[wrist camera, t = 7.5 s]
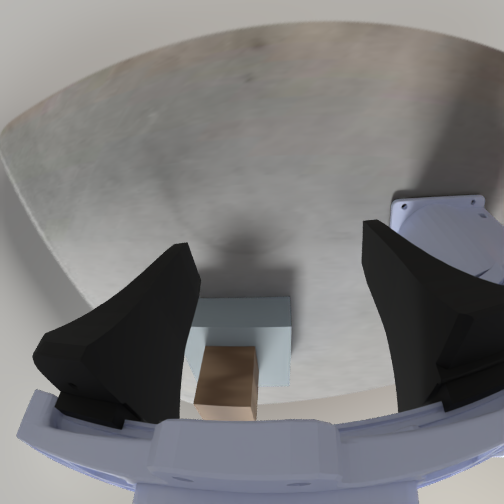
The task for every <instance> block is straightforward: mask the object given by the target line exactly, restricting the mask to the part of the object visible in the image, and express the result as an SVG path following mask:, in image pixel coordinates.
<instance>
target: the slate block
mask: <svg viewBox="0 0 504 504" xmlns="http://www.w3.org/2000/svg"><path fill="white" fill-rule="evenodd" d="M205 346H255V349H256V356H257V363H258V369H259V382H258V386H289V385H290V360H291V308H290V297H258V298H199V299H198V303H197V307H196V311H195V315H194V318H193V322H192V325H191V329H190V333H189V336H188V340H187V344H186V349H185V357H186V359H187V361H188V363H189V366H190V368H191V370H192V372H193V375H194V377H195V379H196V381H197V383H198V378H199V373H200V368H201V363H202V359H203V354H204V349H205Z"/></svg>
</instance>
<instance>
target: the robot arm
mask: <svg viewBox="0 0 504 504" xmlns="http://www.w3.org/2000/svg"><path fill="white" fill-rule="evenodd" d="M472 200H473V202H472ZM471 202H472V203H471ZM403 204H406V205H405V206H404V207H403V208H401V207H402V205H403ZM484 204H485V198H484V197H483V196H482V195H462V196H441V197H424V198H408V199H397V200H394V201H393V202H392V205H391V217H390V227H388V226H387V225H385V224H384V223H382V222H381V221H379V220H367V221H363V241H362V266H363V270H364V274H365V277H366V281H367V284H368V287H369V289H370V292H371V294H372V297H373V299H374V302H375V304H376V307H377V309H378V312H379V315H380V317H381V320H382V323H383V325H384V329H385V332H386V336H387V340H388V344H389V349H390V354H391V359H392V365H393V370H394V377H395V384H396V392H397V402H398V413H396V414H391V415H387V416H382V417H377V418H372V419H366V420H361V421H355V422H348V423H342V424H334V425H333V424H331V423H328V422H323V421H319V420H315V419H303V420H302V419H287V420H266V421H216V420H196V419H180V416H179V413H180V412H179V410H180V390H181V379H182V369H183V362H184V354H185V349H186V344H187V340H188V336H189V333H190V329H191V325H192V322H193V318H194V315H195V311H196V307H197V303H198V299H199V292H200V284H201V279H200V276H199V274H198V271H197V268H196V265H195V262H194V260H193V257H192V254H191V251H190V248H189V245H188V242H187V243H179V244H174V245H173V246H171V247H170V248H169V249H168V250H166V251H165V252H164V253H163V254H162V255H161V256H160V257H159V258H157V259H156V260H155V261H154V262H153V263H152V264H151V265H150V266H149V267H148V268H147V269H146V270H145V271H143V272H142V273H141V274H140V275H139V276H138V277H137V278H135V279H134V280H133V281H132V282H131V283H130V284H129V285H127V286H126V287H125V288H124V289H122V290H121V291H120V292H119V293H117V294H116V295H114V296H113V297H112V298H110V299H109V300H108V301H106V302H105V303H103V304H101V305H100V306H98V307H97V308H95V309H94V310H92V311H91V312H89V313H87V314H85V315H84V316H82V317H80V318H78V319H76V320H74V321H72V322H70V323H68V324H66V325H64V326H62V327H59V328H57V329H55V330H52V331H50V332H48V333H45V334H44V336H43V337H42V339H41V341H40V343H39V344H38V346H37V348H36V350H35V351H34V353H33V360H34V364H35V365H36V367H37V368H38V370H39V371H40V372H41V373H42V374H43V375H44V376H45V377H46V378H47V379H48V380H49V381H50V382H51V383H52V384H53V385H54V386H55V387H56V388H58V389H59V390H60V391H61V392H60V395H59V397H57V396H55V395H53V394H51V393H47V392H44V391H41V390H38V389H36V390H35V392H34V394H33V396H32V398H31V400H30V403H29V405H28V407H27V410H26V412H25V415H24V417H23V419H22V422H21V424H20V427H19V430H18V432H17V438H18V439H20V440H21V441H23V442H24V443H26V444H27V445H29V446H30V447H32V448H34V449H35V450H37V451H38V452H40V453H42V454H43V455H45V456H47V457H48V458H50V459H52V460H54V461H56V462H58V463H60V464H62V465H64V466H66V467H69V468H71V469H73V470H75V471H78V472H80V473H83V474H85V475H88V476H90V477H92V478H95V479H98V480H100V481H103V482H106V483H109V484H111V485H114V486H118V487H120V488H123V489H127V490H130V491H133V492H135V494H134V499H133V504H419V500H418V491H417V489H418V488H421V487H424V486H427V485H430V484H433V483H436V482H438V481H441V480H443V479H446V478H448V477H451V476H453V475H456V474H458V473H460V472H462V471H465V470H467V469H469V468H471V467H473V466H475V465H477V464H480V463H482V462H483V461H485V460H487V459H489V458H491V457H504V226H503V225H502V224H501V223H500V222H498V221H497V220H496V219H495V218H494V217H493V216H492V215H491V214H490V213H489V212H488V211H487V210H486V209H485V208H484Z"/></svg>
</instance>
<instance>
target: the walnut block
mask: <svg viewBox="0 0 504 504" xmlns="http://www.w3.org/2000/svg"><path fill="white" fill-rule="evenodd" d="M258 382H259V369H258V363H257V356H256V349H255V346H205V349H204V354H203V359H202V363H201V368H200V373H199V378H198V383H197V388H196V393H195V399H194V406H195V407H196V409H197V411H198V412H199V414H200V415H201V417H202V419H203V420H216V421H256V416H257V399H258Z"/></svg>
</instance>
